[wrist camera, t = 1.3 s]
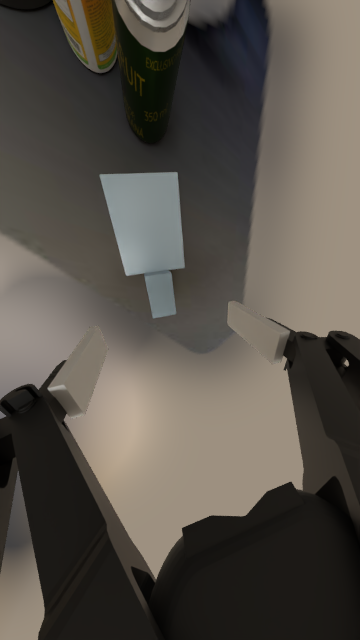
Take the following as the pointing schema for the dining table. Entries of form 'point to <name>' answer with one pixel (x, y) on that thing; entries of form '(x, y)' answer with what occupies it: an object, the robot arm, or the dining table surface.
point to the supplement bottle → (89, 31)
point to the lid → (148, 230)
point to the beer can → (149, 60)
